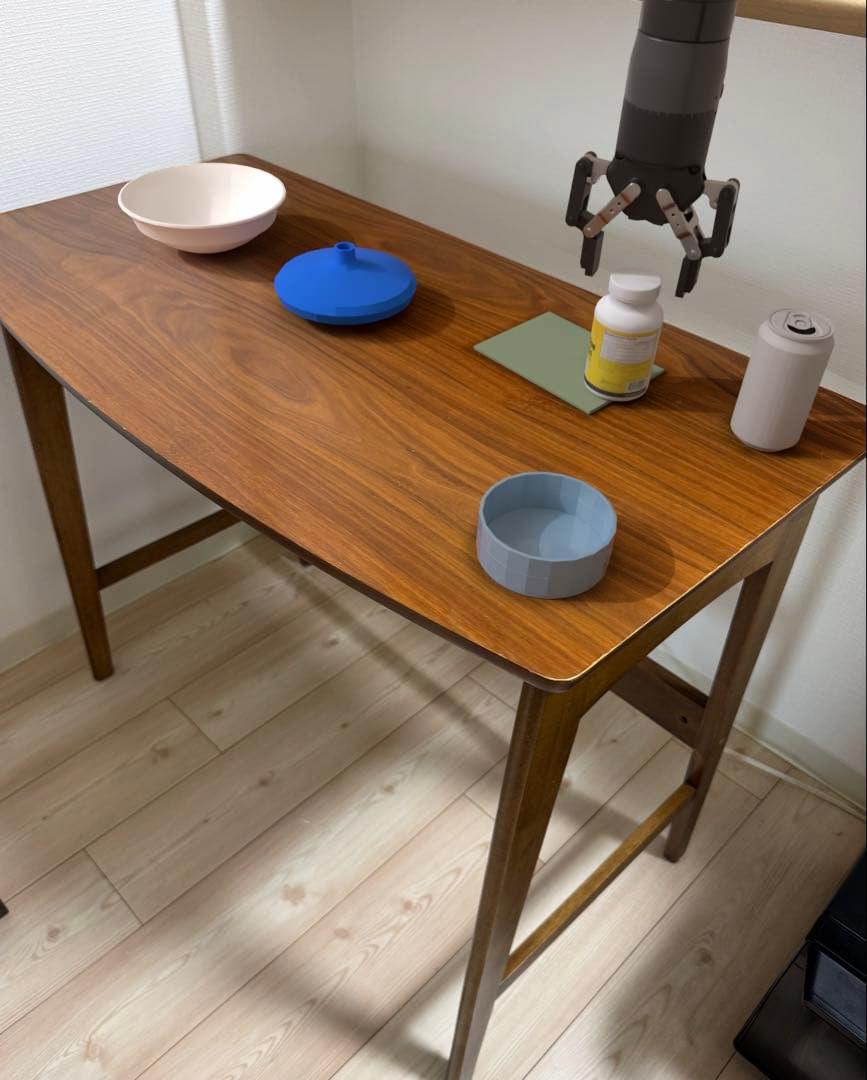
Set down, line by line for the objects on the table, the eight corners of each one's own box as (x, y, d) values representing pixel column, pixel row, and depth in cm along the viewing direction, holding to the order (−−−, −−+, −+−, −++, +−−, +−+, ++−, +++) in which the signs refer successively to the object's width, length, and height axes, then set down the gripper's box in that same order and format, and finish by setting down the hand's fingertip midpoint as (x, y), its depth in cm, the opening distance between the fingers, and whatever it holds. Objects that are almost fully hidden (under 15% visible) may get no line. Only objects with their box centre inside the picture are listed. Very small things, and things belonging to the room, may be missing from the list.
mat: (663, 372, 94) (664, 369, 93) (589, 414, 87) (589, 411, 87) (548, 314, 102) (549, 311, 102) (473, 349, 96) (473, 345, 95)
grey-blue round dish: (536, 492, 78) (542, 455, 75) (634, 555, 73) (644, 518, 70) (449, 547, 73) (451, 509, 70) (548, 620, 67) (554, 582, 64)
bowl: (98, 266, 107) (86, 214, 103) (170, 203, 121) (162, 154, 117) (256, 289, 104) (250, 235, 100) (311, 221, 118) (308, 172, 114)
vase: (248, 300, 102) (241, 240, 97) (359, 262, 110) (358, 205, 105) (331, 357, 93) (328, 294, 89) (445, 312, 101) (447, 252, 97)
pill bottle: (608, 362, 94) (628, 256, 86) (660, 388, 90) (685, 279, 83) (569, 385, 90) (586, 276, 83) (621, 412, 87) (644, 301, 79)
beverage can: (730, 451, 84) (767, 336, 76) (725, 413, 88) (759, 300, 80) (801, 460, 83) (846, 344, 75) (792, 421, 88) (833, 308, 80)
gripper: (572, 92, 72) (548, 282, 83) (752, 122, 68) (702, 319, 78) (601, 70, 77) (575, 252, 88) (770, 97, 73) (721, 284, 83)
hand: (635, 283), depth 83 cm, fingers open, 8 cm apart
